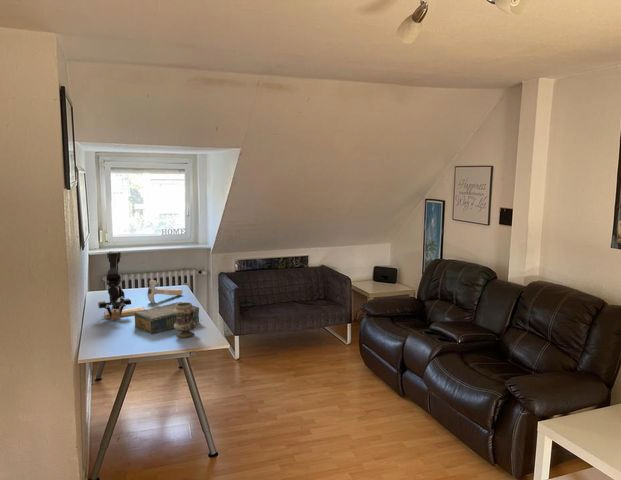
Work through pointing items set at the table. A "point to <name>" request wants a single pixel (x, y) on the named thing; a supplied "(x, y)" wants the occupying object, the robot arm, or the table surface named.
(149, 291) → the hammer
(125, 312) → the board
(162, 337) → the table surface
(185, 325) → the apothecary jar
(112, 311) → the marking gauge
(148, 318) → the metal box
